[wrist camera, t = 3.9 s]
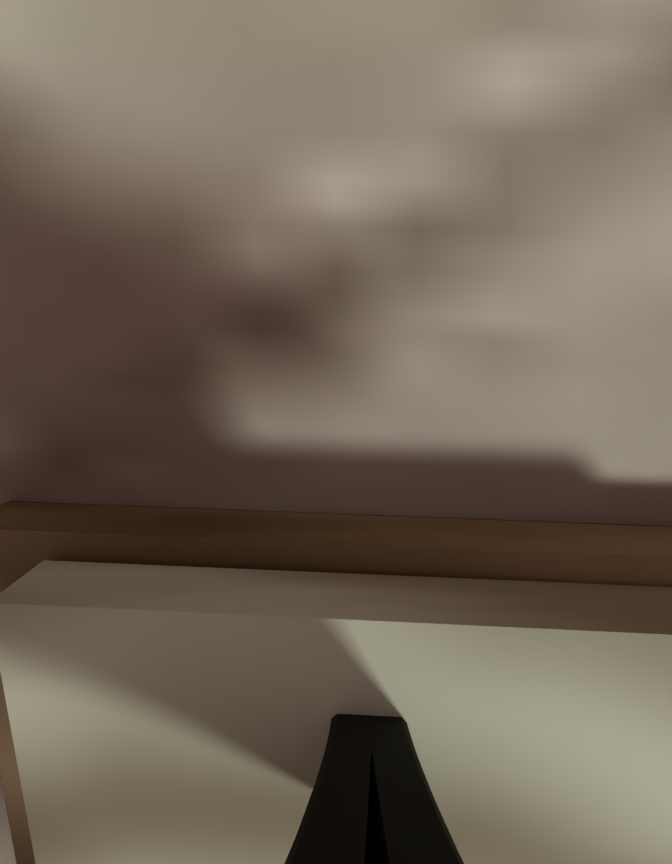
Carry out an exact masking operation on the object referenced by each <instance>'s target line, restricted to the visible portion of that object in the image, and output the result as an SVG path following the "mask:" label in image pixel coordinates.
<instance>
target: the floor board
mask: <svg viewBox="0 0 672 864" xmlns="http://www.w3.org/2000/svg"><path fill="white" fill-rule="evenodd" d="M43 560H49V561H72V562H95V563H119V564H142V565H165V566H189V567H212V568H235V569H258V570H282V571H305V572H328V573H352V574H375V575H398V576H422V577H445V578H468V579H491V580H515V581H538V582H561V583H585V584H608V585H631V586H655V587H672V527H663V526H636V525H610V524H584V523H557V522H531V521H504V520H478V519H452V518H425V517H399V516H373V515H346V514H320V513H294V512H267V511H241V510H215V509H188V508H162V507H135V506H109V505H83V504H56V503H30V502H6V503H4V504H2V505H0V593H1V592H2V591H4V590H5V589H6V588H8V587H9V586H10V585H12V584H13V583H14V582H16V581H17V580H18V579H20V578H21V577H22V576H24V575H25V574H26V573H27V572H29V571H30V570H31V569H33V568H34V567H35V566H37V565H38V564H39V563H41V562H42V561H43ZM0 775H1V780H2V786H3V791H4V797H5V802H6V808H7V813H8V819H9V824H10V830H11V835H12V841H13V846H14V851H15V857H16V862H17V864H36V863H35V858H34V852H33V847H32V841H31V836H30V831H29V825H28V820H27V814H26V809H25V803H24V798H23V792H22V787H21V781H20V776H19V771H18V765H17V760H16V754H15V749H14V743H13V738H12V732H11V727H10V722H9V716H8V711H7V705H6V700H5V694H4V689H3V683H2V678H1V672H0Z"/></svg>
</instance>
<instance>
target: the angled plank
mask: <svg viewBox="0 0 672 864" xmlns="http://www.w3.org/2000/svg"><path fill="white" fill-rule="evenodd" d="M0 672H1V678H2V683H3V689H4V694H5V700H6V705H7V711H8V716H9V722H10V727H11V732H12V738H13V743H14V749H15V754H16V760H17V765H18V771H19V776H20V781H21V787H22V792H23V798H24V803H25V809H26V814H27V820H28V825H29V831H30V836H31V841H32V847H33V852H34V858H35V863H36V864H284V863H285V861H286V859H287V856H288V854H289V851H290V849H291V847H292V844H293V842H294V840H295V837H296V834H297V832H298V829H299V827H300V824H301V821H302V818H303V816H304V813H305V810H306V807H307V805H308V802H309V799H310V796H311V793H312V791H313V788H314V785H315V782H316V779H317V776H318V772H319V769H320V766H321V763H322V759H323V756H324V752H325V748H326V744H327V740H328V735H329V731H330V725H331V718H332V717H334V716H335V715H336V714H353V715H371V716H391V717H402V718H403V719H404V720H405V721H406V722H407V725H408V728H409V732H410V735H411V738H412V741H413V744H414V747H415V750H416V753H417V756H418V758H419V761H420V764H421V767H422V769H423V772H424V774H425V777H426V779H427V782H428V784H429V787H430V789H431V792H432V794H433V796H434V799H435V801H436V803H437V806H438V808H439V810H440V812H441V815H442V817H443V819H444V821H445V823H446V826H447V828H448V830H449V832H450V834H451V837H452V839H453V841H454V843H455V845H456V848H457V850H458V852H459V854H460V856H461V858H462V860H463V862H464V864H672V587H655V586H631V585H608V584H585V583H561V582H538V581H515V580H491V579H468V578H445V577H422V576H398V575H375V574H352V573H328V572H305V571H282V570H258V569H235V568H212V567H189V566H165V565H142V564H119V563H95V562H72V561H49V560H43V561H42V562H41V563H39V564H38V565H37V566H35V567H34V568H33V569H31V570H30V571H29V572H27V573H26V574H25V575H24V576H22V577H21V578H20V579H18V580H17V581H16V582H14V583H13V584H12V585H10V586H9V587H8V588H6V589H5V590H4V591H2V592H1V593H0Z"/></svg>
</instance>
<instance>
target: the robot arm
mask: <svg viewBox="0 0 672 864" xmlns="http://www.w3.org/2000/svg"><path fill="white" fill-rule="evenodd" d="M284 864H464V862H463V860H462V858H461V856H460V854H459V852H458V850H457V848H456V845H455V843H454V841H453V839H452V837H451V834H450V832H449V830H448V828H447V826H446V823H445V821H444V819H443V817H442V815H441V812H440V810H439V808H438V806H437V803H436V801H435V799H434V796H433V794H432V792H431V789H430V787H429V784H428V782H427V779H426V777H425V774H424V772H423V769H422V767H421V764H420V761H419V758H418V756H417V753H416V750H415V747H414V744H413V741H412V738H411V735H410V732H409V728H408V725H407V722H406V721H405V720H404V719H403V718H402V717H391V716H371V715H353V714H336V715H335V716H334V717H332V718H331V725H330V731H329V735H328V740H327V744H326V748H325V752H324V756H323V759H322V763H321V766H320V769H319V772H318V776H317V779H316V782H315V785H314V788H313V791H312V793H311V796H310V799H309V802H308V805H307V807H306V810H305V813H304V816H303V818H302V821H301V824H300V827H299V829H298V832H297V834H296V837H295V840H294V842H293V844H292V847H291V849H290V851H289V854H288V856H287V859H286V861H285V863H284Z"/></svg>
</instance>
